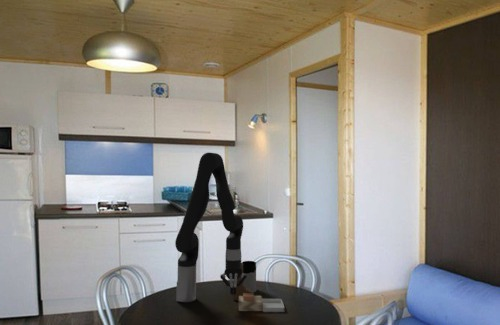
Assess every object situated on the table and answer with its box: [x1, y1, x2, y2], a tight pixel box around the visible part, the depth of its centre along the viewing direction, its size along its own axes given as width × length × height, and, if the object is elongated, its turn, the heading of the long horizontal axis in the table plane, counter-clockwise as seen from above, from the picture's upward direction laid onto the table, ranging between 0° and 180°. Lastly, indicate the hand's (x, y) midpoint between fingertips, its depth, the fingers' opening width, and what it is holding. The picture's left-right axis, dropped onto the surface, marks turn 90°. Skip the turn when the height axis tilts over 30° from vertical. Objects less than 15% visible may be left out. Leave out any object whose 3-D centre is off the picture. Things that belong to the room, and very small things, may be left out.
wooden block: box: [232, 262, 252, 302], centre depth 193 cm, size 9×4×18 cm, turn 89°
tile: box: [243, 292, 255, 301], centre depth 182 cm, size 5×5×2 cm
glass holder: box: [241, 260, 257, 293], centre depth 207 cm, size 9×14×15 cm, turn 102°
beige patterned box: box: [238, 295, 263, 312], centre depth 182 cm, size 11×9×4 cm
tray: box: [262, 298, 286, 313], centre depth 183 cm, size 10×12×2 cm
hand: (233, 294), depth 182 cm, fingers closed
